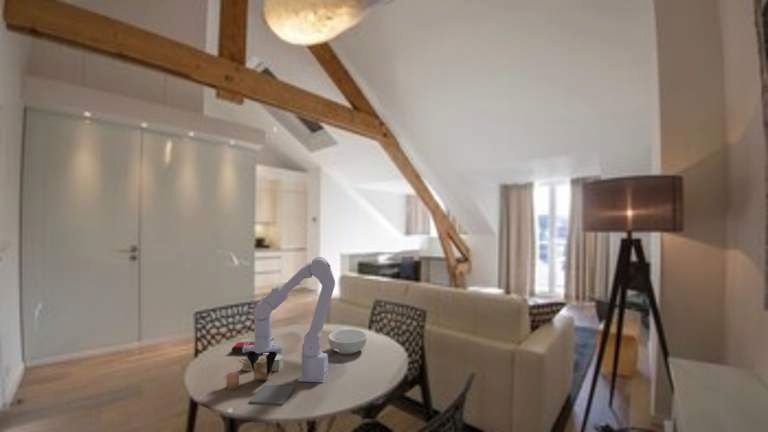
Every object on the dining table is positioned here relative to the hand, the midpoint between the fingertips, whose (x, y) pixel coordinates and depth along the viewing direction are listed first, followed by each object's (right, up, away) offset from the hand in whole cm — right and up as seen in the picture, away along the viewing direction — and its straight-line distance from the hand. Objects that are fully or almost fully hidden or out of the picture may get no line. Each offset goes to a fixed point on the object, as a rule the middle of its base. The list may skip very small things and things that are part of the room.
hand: (262, 372), depth 125 cm
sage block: (+2, -3, +10) cm, 10 cm away
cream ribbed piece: (-8, -3, +9) cm, 13 cm away
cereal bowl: (+28, -4, +28) cm, 40 cm away
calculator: (-14, -4, +29) cm, 32 cm away
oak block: (0, -1, 0) cm, 1 cm away
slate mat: (+7, -3, -11) cm, 13 cm away
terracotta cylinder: (-8, -3, -5) cm, 10 cm away
